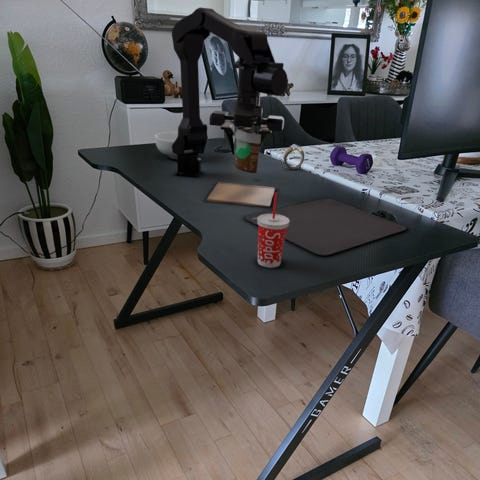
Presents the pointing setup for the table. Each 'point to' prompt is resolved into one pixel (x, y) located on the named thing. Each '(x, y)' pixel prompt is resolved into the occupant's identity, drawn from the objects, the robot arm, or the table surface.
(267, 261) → the beverage cup
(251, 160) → the food container
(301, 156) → the ring
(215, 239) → the table surface
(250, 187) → the placemat
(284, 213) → the mouse pad
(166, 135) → the cereal bowl
